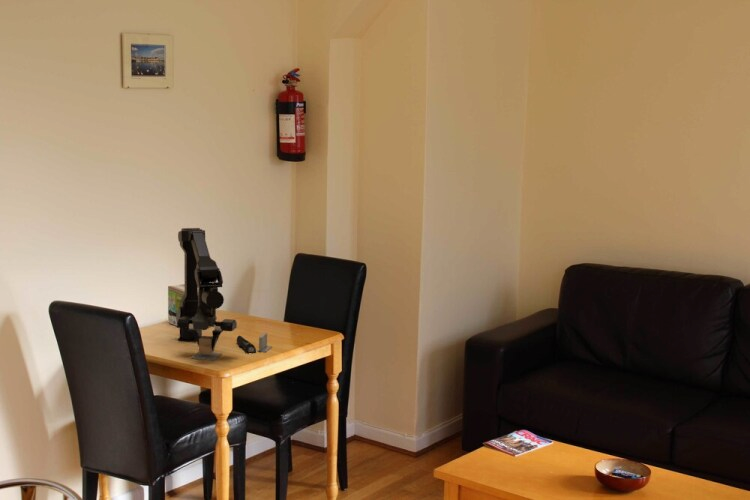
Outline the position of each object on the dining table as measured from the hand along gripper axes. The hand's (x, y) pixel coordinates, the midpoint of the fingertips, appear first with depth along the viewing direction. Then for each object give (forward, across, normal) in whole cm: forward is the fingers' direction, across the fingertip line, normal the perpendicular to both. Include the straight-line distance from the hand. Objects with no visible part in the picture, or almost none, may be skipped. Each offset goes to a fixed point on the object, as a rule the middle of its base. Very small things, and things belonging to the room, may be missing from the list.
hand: (206, 349), depth 307 cm
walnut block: (+1, 0, 0) cm, 1 cm away
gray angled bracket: (+2, +16, +14) cm, 21 cm away
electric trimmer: (+3, +9, +14) cm, 17 cm away
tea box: (+3, -20, +41) cm, 46 cm away
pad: (+2, 0, 0) cm, 3 cm away
